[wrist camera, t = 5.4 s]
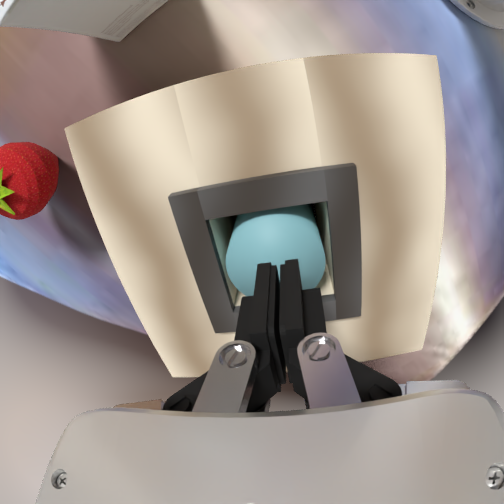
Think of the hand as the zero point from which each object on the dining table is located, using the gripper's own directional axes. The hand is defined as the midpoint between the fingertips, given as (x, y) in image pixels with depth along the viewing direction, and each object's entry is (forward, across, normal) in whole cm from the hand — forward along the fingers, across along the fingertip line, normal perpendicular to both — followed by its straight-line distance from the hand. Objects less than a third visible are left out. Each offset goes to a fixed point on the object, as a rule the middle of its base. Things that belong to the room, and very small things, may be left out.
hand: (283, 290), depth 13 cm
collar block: (+11, +1, +1) cm, 11 cm away
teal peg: (+10, +1, +1) cm, 10 cm away
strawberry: (+12, +19, -7) cm, 23 cm away
